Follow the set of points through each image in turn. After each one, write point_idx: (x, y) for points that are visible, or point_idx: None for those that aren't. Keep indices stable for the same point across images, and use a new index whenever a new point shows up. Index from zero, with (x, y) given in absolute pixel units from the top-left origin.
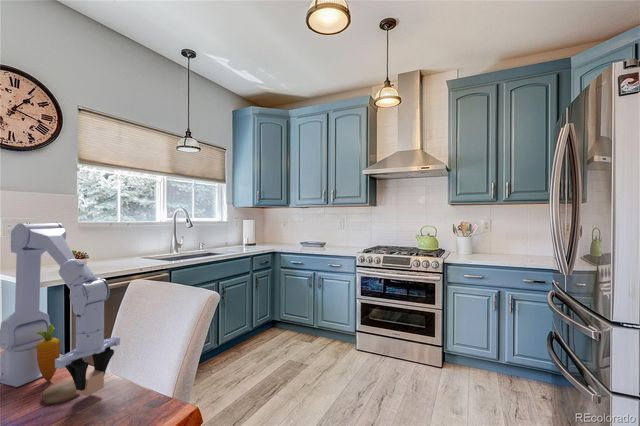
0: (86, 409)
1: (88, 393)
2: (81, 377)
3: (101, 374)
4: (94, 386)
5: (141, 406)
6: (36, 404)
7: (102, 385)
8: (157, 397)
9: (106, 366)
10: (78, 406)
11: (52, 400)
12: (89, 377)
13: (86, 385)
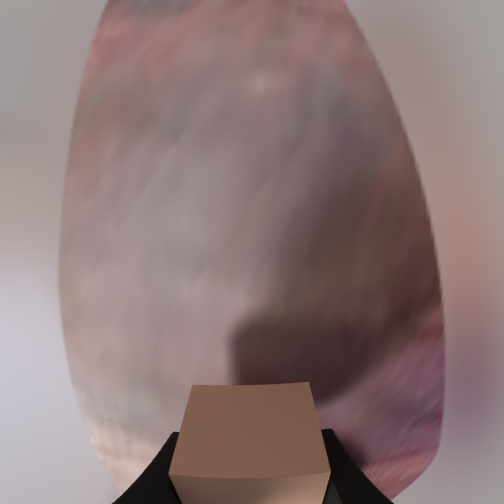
0: (351, 300)
1: (303, 392)
2: (382, 498)
3: (193, 464)
4: (261, 413)
5: (206, 6)
6: None
7: (199, 397)
8: (107, 17)
9: (129, 497)
10: (339, 367)
11: None
12: (294, 486)
13: (319, 440)
